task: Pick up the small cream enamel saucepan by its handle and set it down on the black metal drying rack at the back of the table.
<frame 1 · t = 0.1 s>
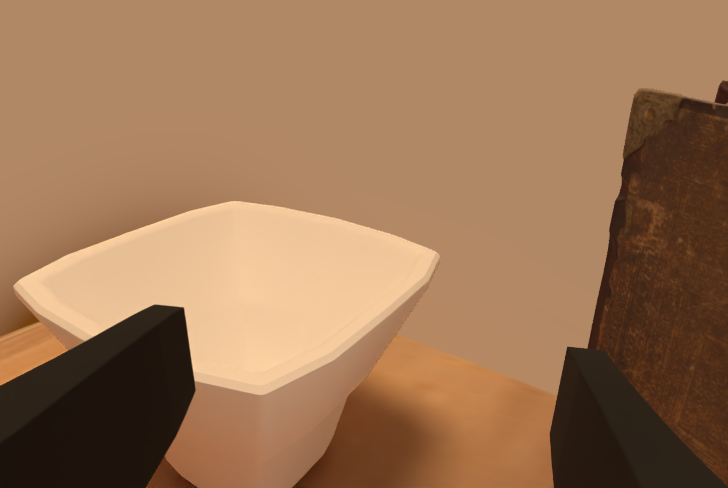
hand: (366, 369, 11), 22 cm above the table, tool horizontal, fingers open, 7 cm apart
bowl: (253, 462, 39), on the table
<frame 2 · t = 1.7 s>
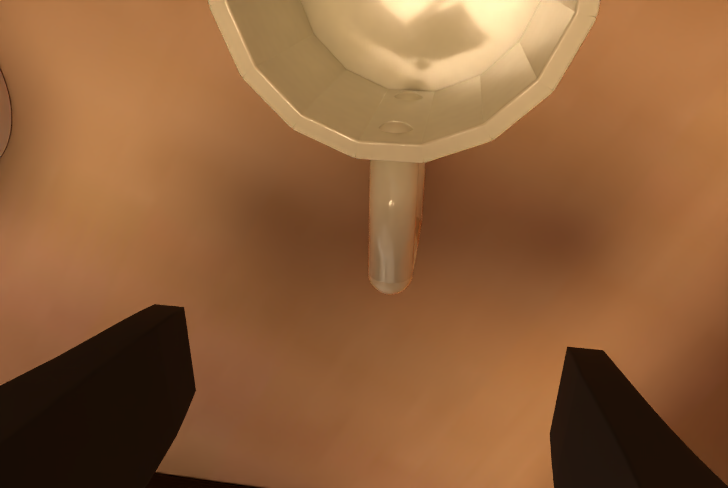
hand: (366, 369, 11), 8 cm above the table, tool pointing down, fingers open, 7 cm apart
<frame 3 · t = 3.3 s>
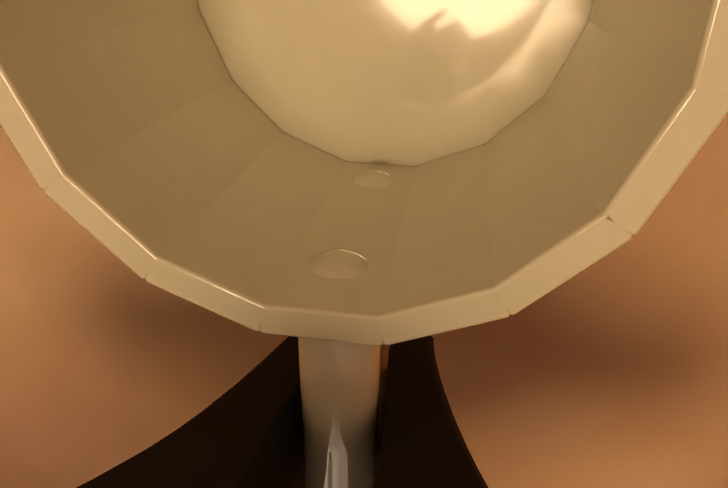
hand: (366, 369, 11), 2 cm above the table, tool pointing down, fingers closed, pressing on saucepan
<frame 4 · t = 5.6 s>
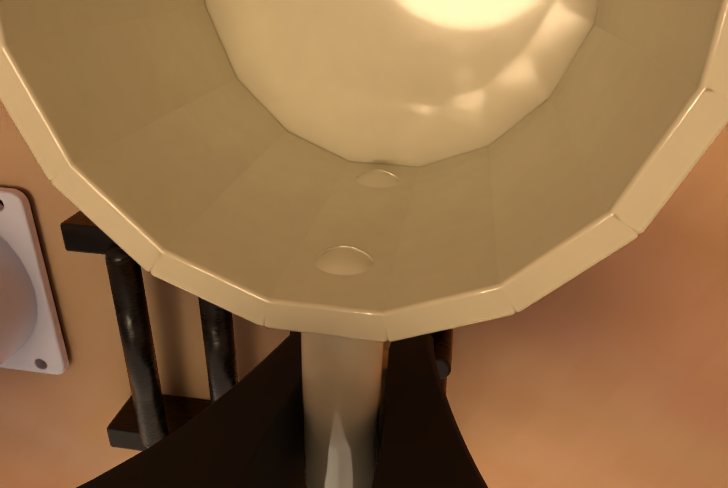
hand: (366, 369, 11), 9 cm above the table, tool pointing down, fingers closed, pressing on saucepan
rack: (282, 331, 22), on the table
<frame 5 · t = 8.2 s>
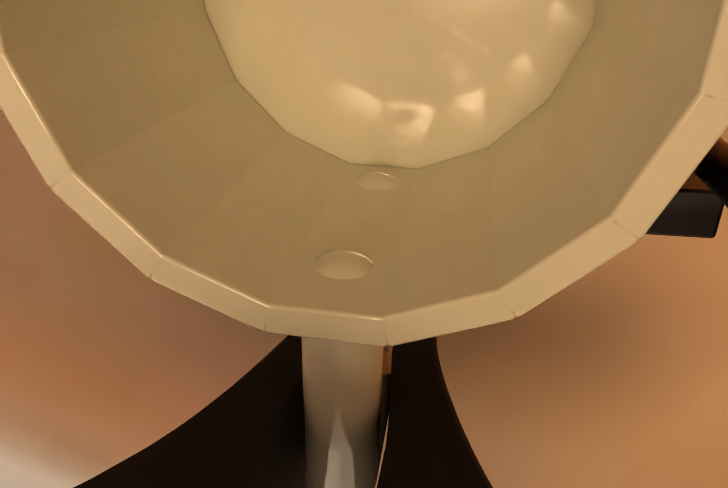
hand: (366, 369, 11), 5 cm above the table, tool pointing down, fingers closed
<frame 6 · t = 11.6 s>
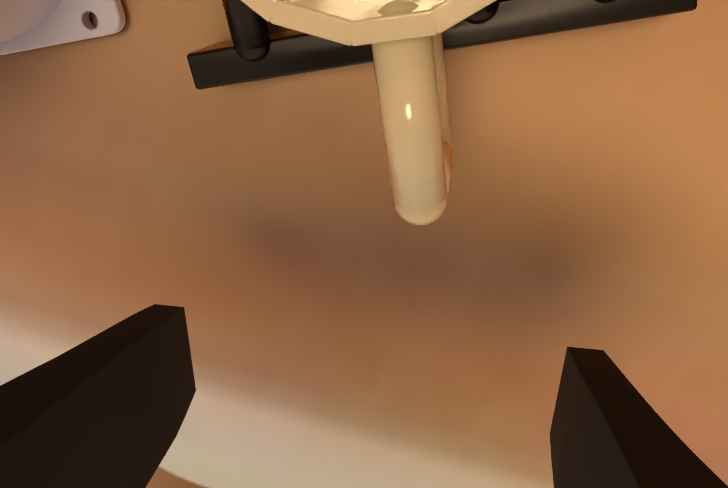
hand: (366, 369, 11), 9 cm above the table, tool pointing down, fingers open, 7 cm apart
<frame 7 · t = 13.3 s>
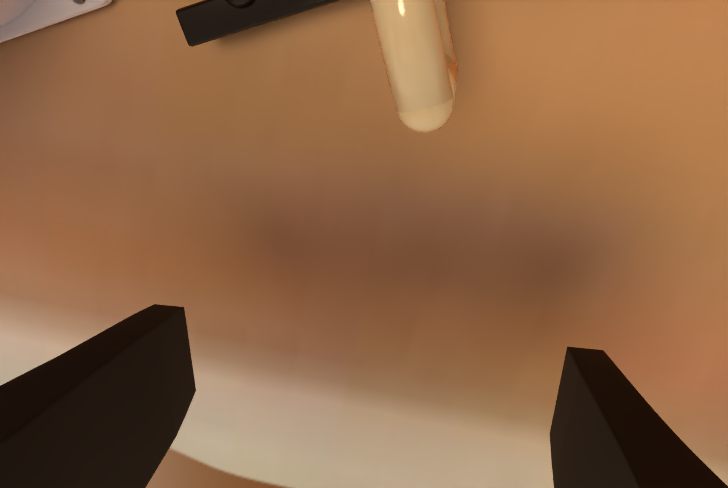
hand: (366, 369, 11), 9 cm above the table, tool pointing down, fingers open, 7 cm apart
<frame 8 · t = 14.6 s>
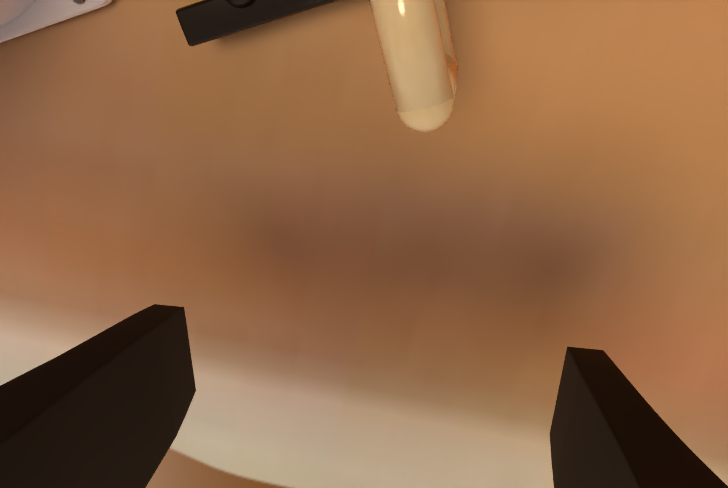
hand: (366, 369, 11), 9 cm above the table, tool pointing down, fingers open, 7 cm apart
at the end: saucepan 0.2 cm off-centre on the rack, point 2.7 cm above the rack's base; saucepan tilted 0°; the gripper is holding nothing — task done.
